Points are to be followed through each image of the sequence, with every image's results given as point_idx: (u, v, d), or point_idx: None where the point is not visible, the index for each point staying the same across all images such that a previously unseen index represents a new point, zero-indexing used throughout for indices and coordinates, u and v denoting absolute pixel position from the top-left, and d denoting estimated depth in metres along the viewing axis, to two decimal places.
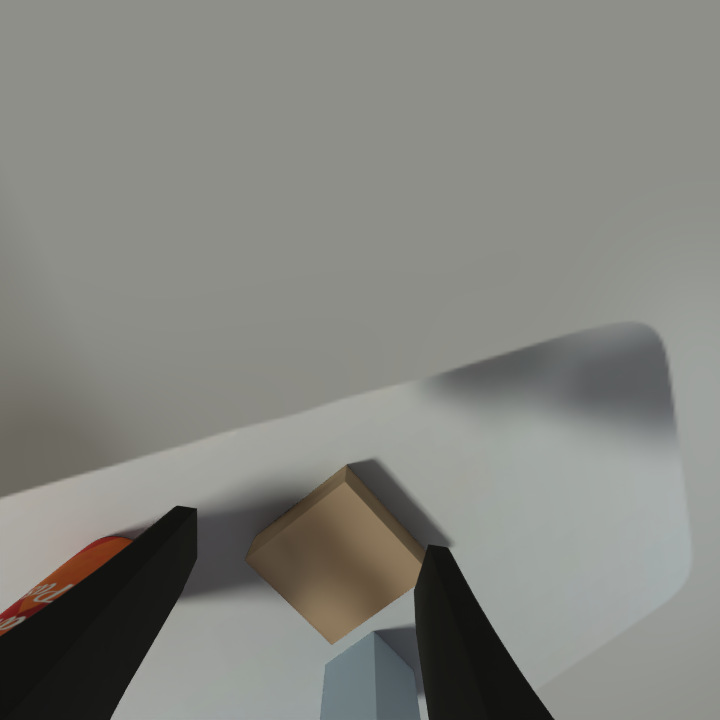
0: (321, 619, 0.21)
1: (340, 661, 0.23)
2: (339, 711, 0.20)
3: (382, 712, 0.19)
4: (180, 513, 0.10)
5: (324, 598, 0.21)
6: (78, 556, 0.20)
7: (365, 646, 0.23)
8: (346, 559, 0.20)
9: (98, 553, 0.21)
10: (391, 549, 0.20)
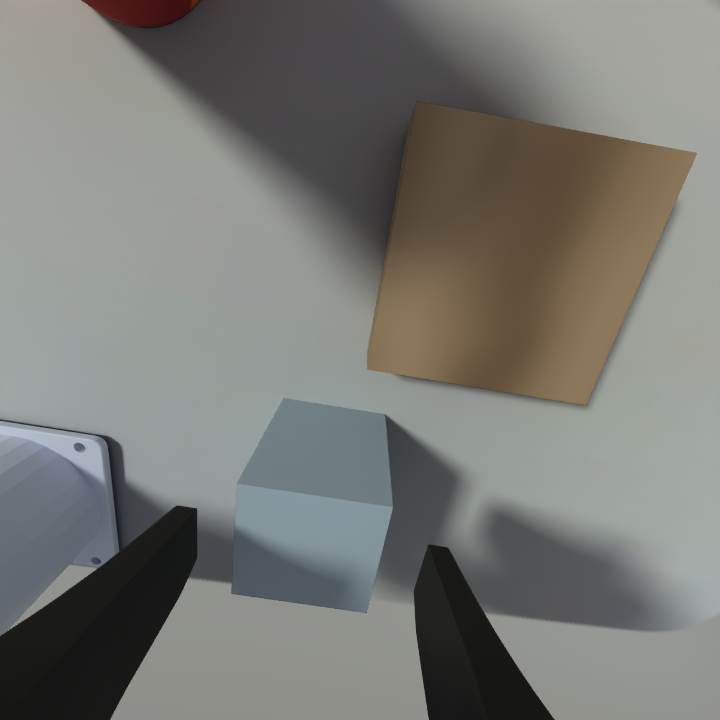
0: (398, 323, 0.11)
1: (315, 409, 0.14)
2: (307, 451, 0.11)
3: None
4: (180, 514, 0.10)
5: (439, 297, 0.11)
6: None
7: (367, 419, 0.14)
8: (535, 274, 0.11)
9: None
10: (597, 325, 0.11)
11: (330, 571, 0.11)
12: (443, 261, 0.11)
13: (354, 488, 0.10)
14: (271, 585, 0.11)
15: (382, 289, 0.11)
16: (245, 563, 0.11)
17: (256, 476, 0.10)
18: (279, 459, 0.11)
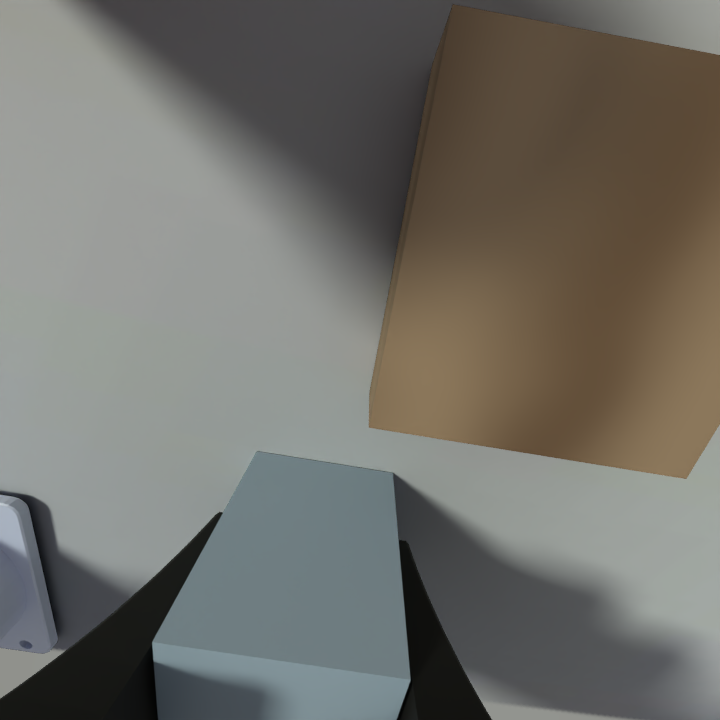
0: (415, 363, 0.08)
1: (298, 470, 0.10)
2: (279, 555, 0.08)
3: None
4: None
5: (478, 326, 0.07)
6: None
7: (369, 484, 0.10)
8: (629, 292, 0.07)
9: None
10: (717, 368, 0.07)
11: None
12: (487, 272, 0.07)
13: (347, 636, 0.06)
14: None
15: (392, 313, 0.07)
16: None
17: (189, 621, 0.06)
18: (233, 576, 0.07)
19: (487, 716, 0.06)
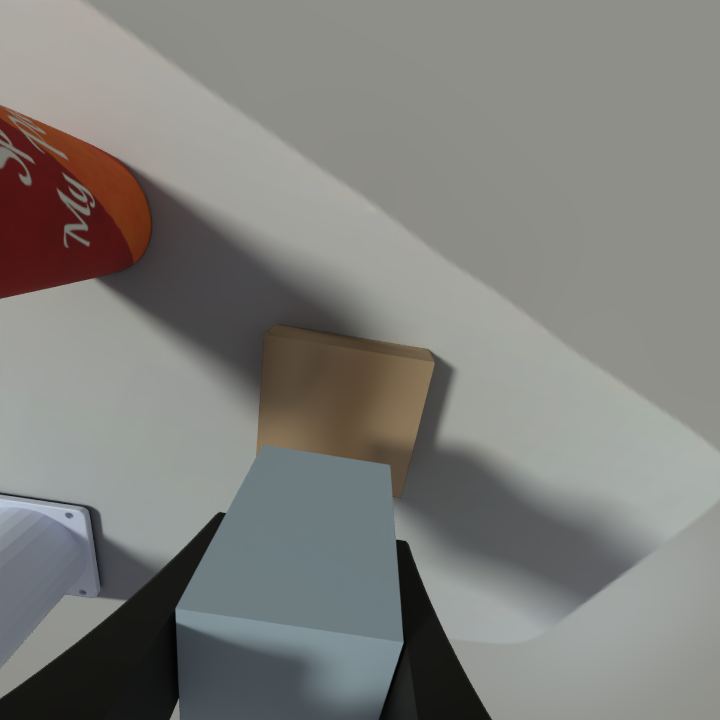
0: None
1: (302, 462, 0.11)
2: (285, 536, 0.08)
3: None
4: None
5: (295, 435, 0.17)
6: (78, 139, 0.13)
7: (368, 475, 0.11)
8: (352, 424, 0.17)
9: (106, 163, 0.14)
10: (397, 452, 0.17)
11: (314, 713, 0.08)
12: (294, 416, 0.17)
13: (348, 606, 0.07)
14: None
15: (258, 430, 0.17)
16: (196, 701, 0.08)
17: (207, 591, 0.07)
18: (245, 554, 0.08)
19: (487, 716, 0.06)
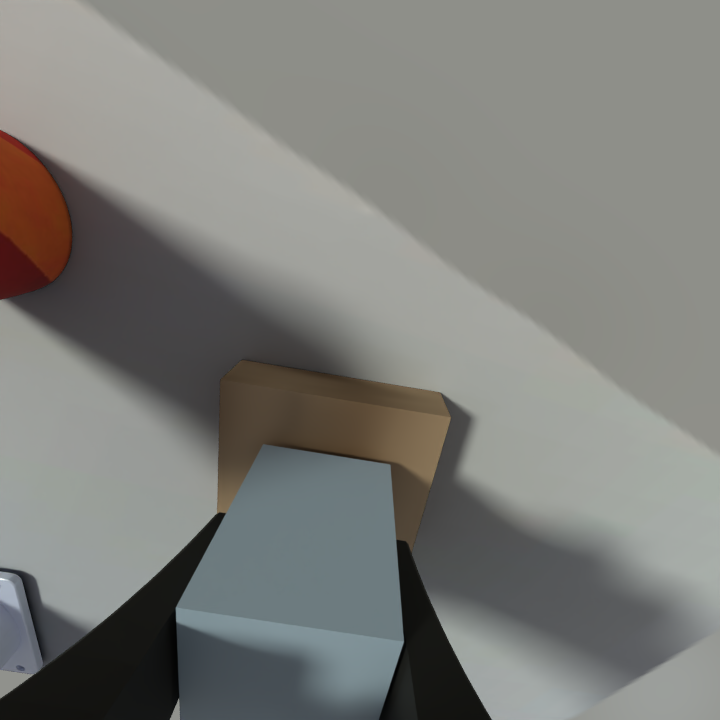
0: None
1: (302, 461, 0.11)
2: (285, 536, 0.08)
3: None
4: None
5: None
6: None
7: (368, 475, 0.11)
8: None
9: None
10: (399, 527, 0.13)
11: (315, 713, 0.08)
12: None
13: (348, 605, 0.07)
14: None
15: (218, 498, 0.13)
16: (196, 701, 0.08)
17: (207, 590, 0.07)
18: (245, 554, 0.08)
19: (487, 716, 0.06)
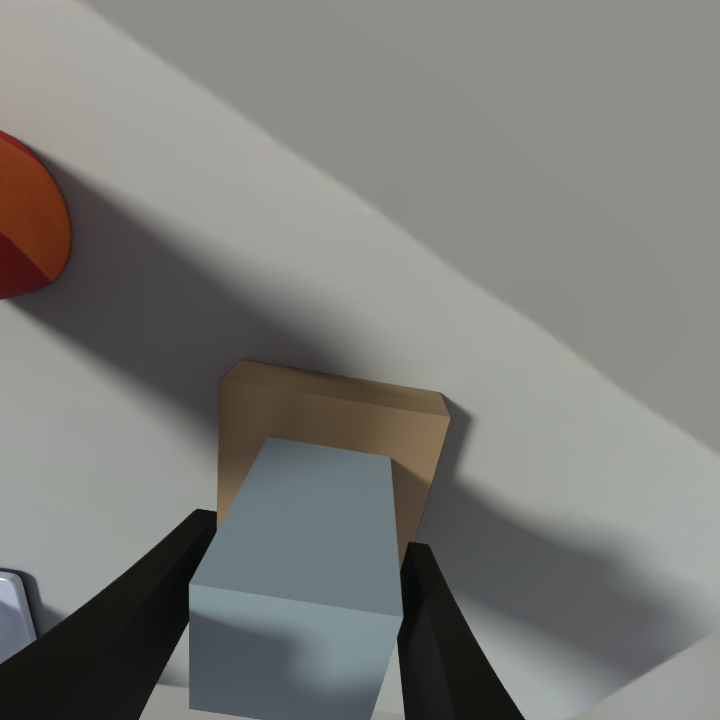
0: None
1: (305, 453, 0.12)
2: (291, 521, 0.09)
3: None
4: (201, 517, 0.10)
5: None
6: None
7: (369, 466, 0.11)
8: None
9: None
10: (399, 526, 0.13)
11: (318, 688, 0.08)
12: None
13: (351, 584, 0.07)
14: (241, 701, 0.08)
15: (218, 498, 0.13)
16: (205, 676, 0.08)
17: (218, 569, 0.07)
18: (253, 536, 0.08)
19: None
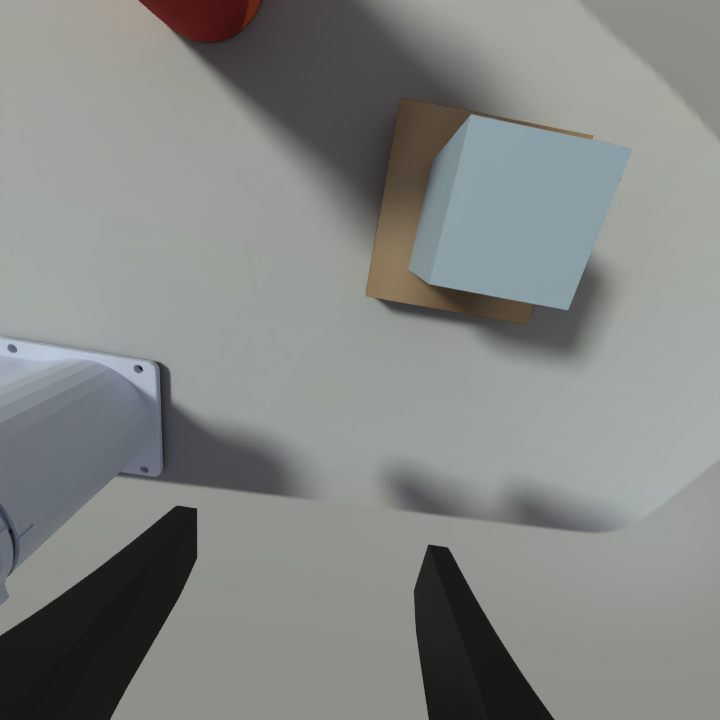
0: (388, 259, 0.15)
1: None
2: None
3: None
4: (180, 514, 0.10)
5: None
6: None
7: None
8: None
9: None
10: None
11: (543, 248, 0.10)
12: None
13: None
14: (475, 270, 0.10)
15: (377, 234, 0.15)
16: (453, 237, 0.10)
17: None
18: None
19: None
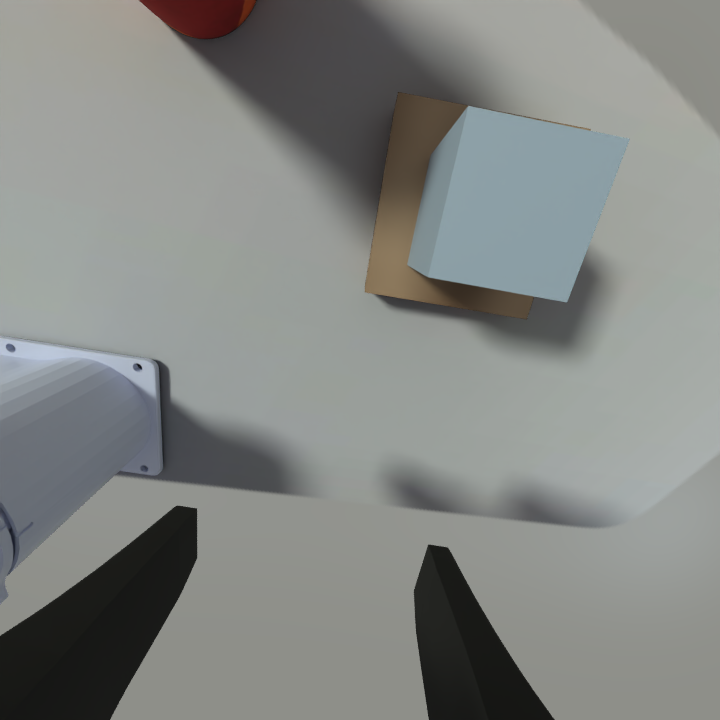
0: (387, 255, 0.15)
1: None
2: None
3: None
4: (180, 514, 0.10)
5: None
6: None
7: None
8: None
9: None
10: None
11: (541, 240, 0.10)
12: None
13: None
14: (474, 263, 0.10)
15: (375, 229, 0.15)
16: (452, 230, 0.10)
17: None
18: None
19: None
